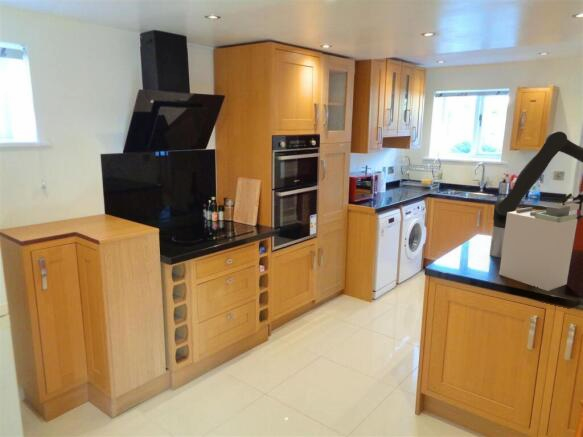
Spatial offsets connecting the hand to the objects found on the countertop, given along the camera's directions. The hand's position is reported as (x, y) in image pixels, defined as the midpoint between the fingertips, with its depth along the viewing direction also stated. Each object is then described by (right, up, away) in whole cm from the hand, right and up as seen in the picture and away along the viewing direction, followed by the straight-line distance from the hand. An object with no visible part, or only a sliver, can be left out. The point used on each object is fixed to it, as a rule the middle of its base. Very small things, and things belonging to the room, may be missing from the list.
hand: (566, 215), depth 214 cm
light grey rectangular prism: (-13, 0, -17) cm, 21 cm away
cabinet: (-23, -31, -8) cm, 39 cm away
